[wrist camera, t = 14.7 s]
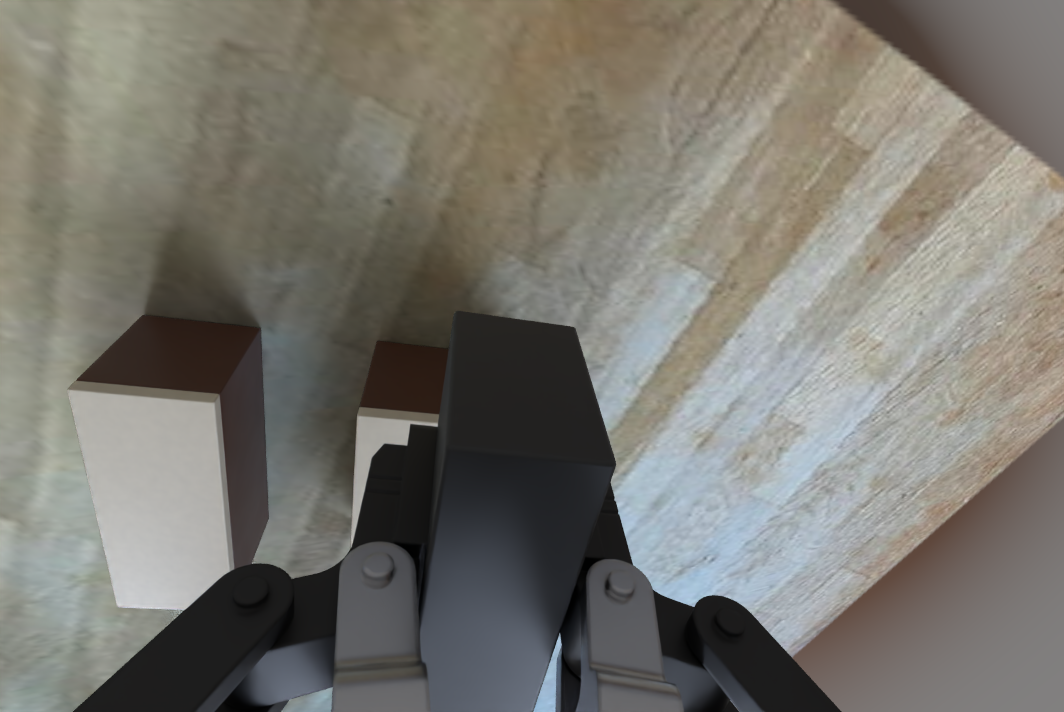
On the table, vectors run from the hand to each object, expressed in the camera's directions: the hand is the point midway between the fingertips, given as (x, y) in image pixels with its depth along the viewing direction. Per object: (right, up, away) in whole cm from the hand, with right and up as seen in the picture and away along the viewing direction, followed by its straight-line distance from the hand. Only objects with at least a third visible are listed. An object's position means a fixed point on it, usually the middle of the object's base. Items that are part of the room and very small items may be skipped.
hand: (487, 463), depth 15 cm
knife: (-1, -5, +3) cm, 6 cm away
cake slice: (-15, -1, +16) cm, 22 cm away
